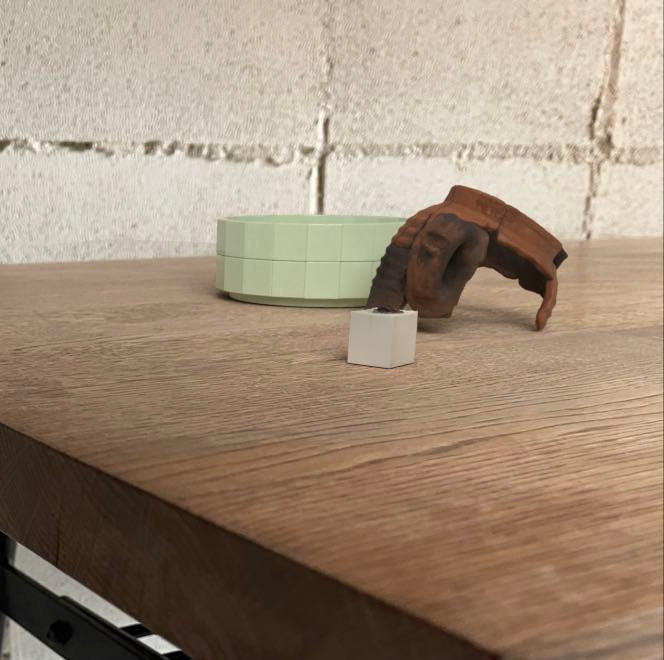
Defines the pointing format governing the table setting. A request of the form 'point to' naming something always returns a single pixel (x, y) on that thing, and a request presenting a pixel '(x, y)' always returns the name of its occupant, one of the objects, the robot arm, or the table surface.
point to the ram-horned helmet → (465, 255)
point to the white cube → (382, 337)
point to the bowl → (302, 258)
